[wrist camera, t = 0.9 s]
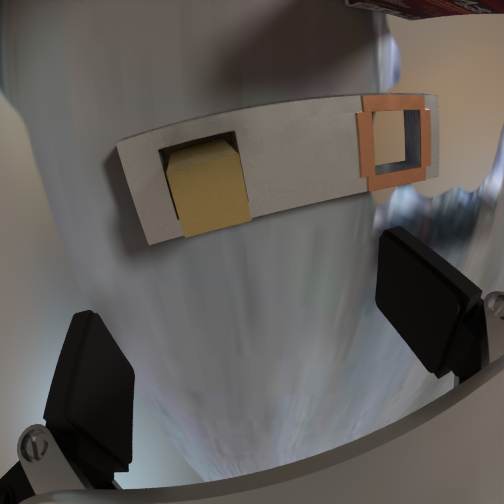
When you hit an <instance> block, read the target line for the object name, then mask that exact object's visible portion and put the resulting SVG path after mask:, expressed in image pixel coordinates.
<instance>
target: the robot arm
mask: <svg viewBox="0 0 504 504" xmlns="http://www.w3.org/2000/svg"><path fill="white" fill-rule="evenodd" d="M481 294H482V290H481V289H480V288H479V287H477V286H476V285H475V284H474V283H473V282H472V281H470V280H469V279H468V278H467V277H466V276H464V275H463V274H462V273H461V272H460V271H458V270H457V269H456V268H455V267H453V266H452V265H451V264H450V263H448V262H447V261H446V260H445V259H443V258H442V257H441V256H440V255H438V254H437V253H436V252H434V251H433V250H432V249H431V248H429V247H428V246H427V245H425V244H424V243H423V242H421V241H420V240H419V239H417V238H416V237H415V236H413V235H412V234H411V233H409V232H408V231H406V230H405V229H404V228H402V227H400V226H397V227H393V228H390V229H387V230H384V231H383V234H382V236H380V238H379V254H378V271H377V284H376V295H375V301H376V305H377V307H378V308H379V310H380V311H381V312H382V313H383V314H384V316H385V317H386V318H387V319H388V321H389V322H390V323H391V324H392V326H393V327H394V328H395V329H396V331H397V332H398V333H399V334H400V336H401V337H402V338H403V339H404V341H405V342H406V343H407V344H408V346H409V347H410V348H411V350H412V351H413V352H414V353H415V355H416V356H417V357H418V359H419V360H420V361H421V363H422V364H423V365H424V367H425V368H426V369H427V370H428V371H429V372H430V373H434V374H435V376H436V377H437V378H438V379H439V378H441V377H442V376H444V375H446V374H447V373H449V372H450V371H452V372H453V373H454V374H455V375H454V388H453V389H452V390H450V391H449V392H447V393H446V394H444V395H442V396H441V397H439V398H437V399H436V400H434V401H432V402H431V403H429V404H427V405H426V406H424V407H422V408H420V409H418V410H417V411H415V412H413V413H411V414H409V415H407V416H405V417H404V418H402V419H400V420H398V421H396V422H394V423H392V424H390V425H388V426H386V427H383V428H381V429H379V430H377V431H375V432H373V433H370V434H368V435H366V436H364V437H361V438H359V439H357V440H354V441H352V442H350V443H347V444H345V445H342V446H339V447H337V448H334V449H332V450H329V451H326V452H323V453H321V454H318V455H315V456H312V457H309V458H306V459H303V460H300V461H296V462H293V463H290V464H286V465H283V466H279V467H276V468H272V469H268V470H264V471H260V472H256V473H252V474H247V475H243V476H238V477H233V478H228V479H223V480H217V481H211V482H205V483H198V484H190V485H182V486H173V487H161V488H145V489H122V488H121V487H120V485H118V483H117V482H116V481H115V480H114V472H129V464H130V463H131V462H132V431H133V400H134V382H135V374H134V370H133V368H132V366H131V364H130V363H129V361H128V360H127V359H126V357H125V356H124V354H123V353H122V351H121V350H120V348H119V346H118V345H117V343H116V342H115V340H114V339H113V337H112V335H111V334H110V332H109V331H108V329H107V327H106V326H105V324H104V322H103V321H102V319H101V317H100V316H99V314H97V313H94V312H93V311H91V310H87V311H83V312H79V313H75V314H74V316H73V318H72V321H71V323H70V326H69V329H68V332H67V335H66V338H65V341H64V344H63V347H62V350H61V353H60V356H59V359H58V362H57V366H56V369H55V373H54V376H53V380H52V383H51V387H50V391H49V395H48V399H47V403H46V407H45V411H44V416H43V419H45V420H46V426H43V425H41V424H35V425H31V426H30V427H28V428H26V430H25V431H24V432H23V433H22V434H21V436H20V438H19V441H18V444H17V453H18V457H19V461H18V462H17V463H16V464H15V465H14V466H13V467H12V468H11V469H10V470H9V471H8V472H7V473H6V474H5V475H4V476H3V477H2V478H1V479H0V504H504V292H501V291H495V292H491V293H489V294H488V295H487V296H486V297H485V299H484V300H483V299H481V298H480V297H481Z"/></svg>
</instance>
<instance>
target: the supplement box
mask: <svg viewBox="0 0 504 504" xmlns="http://www.w3.org/2000/svg"><path fill="white" fill-rule="evenodd" d="M345 5H346V6H349V7H356V8H362V9H367V10H373V11H378V12H382V13H386V14H390V15H394V16H398V17H401V18H404V19H408V20H418V19H425V18H433V17H441V16H452V15H465V14H504V0H345Z"/></svg>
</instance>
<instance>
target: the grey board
mask: <svg viewBox="0 0 504 504" xmlns="http://www.w3.org/2000/svg"><path fill="white" fill-rule="evenodd" d="M391 110H403V111H404V127H405V159H406V160H405V161H401V162H395V163H388V164H382V165H376V166H375V157H374V156H375V154H374V137H373V123H372V112H373V111H391ZM438 113H439V111H438V96H437V95H430V94H422V93H370V94H349V95H334V96H323V97H312V98H303V99H295V100H287V101H280V102H273V103H267V104H260V105H254V106H249V107H243V108H238V109H233V110H228V111H223V112H218V113H214V114H209V115H205V116H201V117H196V118H192V119H188V120H184V121H180V122H177V123H173V124H169V125H166V126H162V127H159V128H155V129H152V130H148V131H145V132H142V133H139V134H136V135H132V136H129V137H126V138H123V139H121V140H120V141H118V142H116V145H117V149H118V153H119V156H120V160H121V163H122V166H123V170H124V173H125V176H126V179H127V183H128V186H129V189H130V192H131V195H132V198H133V201H134V204H135V207H136V210H137V213H138V216H139V219H140V222H141V225H142V228H143V230H144V233H145V236H146V239H147V242H148V244H149V245H152V244H155V243H159V242H162V241H166V240H170V239H173V238H177V237H181V236H184V232H183V229H182V226H181V223H180V219H179V216H178V213H177V209H176V206H175V202H174V199H173V195H172V192H171V188H170V185H169V181H168V178H167V174H166V172H167V169H166V165H165V161H164V158H163V154H162V150H161V148H165V147H168V146H172V145H176V144H179V143H183V142H187V141H191V140H195V139H199V138H203V137H207V136H211V135H216V134H220V133H225V132H229V131H231V134H232V139H233V144H234V149H235V151H236V152H237V153H238V154H239V157H240V163H241V168H242V173H243V178H244V183H245V188H246V193H247V199H248V204H249V209H250V214H251V218H254V217H258V216H262V215H266V214H270V213H274V212H279V211H283V210H287V209H291V208H295V207H300V206H304V205H308V204H312V203H317V202H321V201H325V200H330V199H334V198H339V197H343V196H348V195H352V194H357V193H362V192H366V191H369V192H370V191H375V190H380V189H384V188H389V187H394V186H399V185H404V184H409V183H414V182H418V181H423V180H426V179H430V178H435V177H438V174H439V114H438Z"/></svg>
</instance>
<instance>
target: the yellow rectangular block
mask: <svg viewBox="0 0 504 504" xmlns="http://www.w3.org/2000/svg"><path fill="white" fill-rule="evenodd" d="M166 174H167V178H168V181H169V185H170V188H171V192H172V195H173V199H174V202H175V206H176V209H177V213H178V216H179V219H180V223H181V226H182V229H183V232H184V236H185V238H187V237H190V236H194V235H198V234H202V233H206V232H209V231H213V230H217V229H221V228H225V227H229V226H233V225H236V224H240V223H244V222H248V221H252V219H251V214H250V209H249V204H248V199H247V193H246V188H245V183H244V178H243V173H242V168H241V163H240V157H239V154H238V153H237V152H236V151H235V150H234V149H233V148H232V147H231V146H230V145H229V144H228V143H227V142H226V141H225V140H224V139H223V138H222V139H218V140H214V141H210V142H205V143H201V144H197V145H193V146H189V147H186V148H182V149H178V150H174V151H172V152H171V156H170V160H169V164H168V168H167V172H166Z"/></svg>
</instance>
